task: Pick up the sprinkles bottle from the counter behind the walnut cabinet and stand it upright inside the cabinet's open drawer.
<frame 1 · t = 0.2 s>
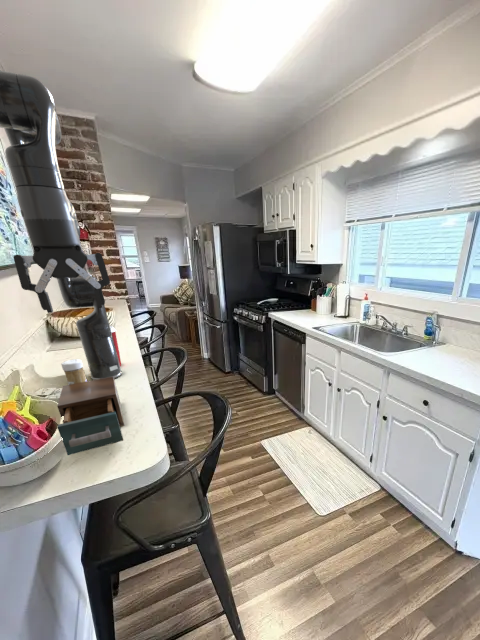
hand: (76, 309, 62), 29 cm above the countertop, tool pointing down, fingers open, 8 cm apart
drawer: (92, 425, 68), point 4 cm above the countertop, slide at 8.0 cm
sprinkles bottle: (85, 407, 87), on the countertop
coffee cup: (112, 367, 119), on the countertop
cabinet: (97, 420, 79), on the countertop
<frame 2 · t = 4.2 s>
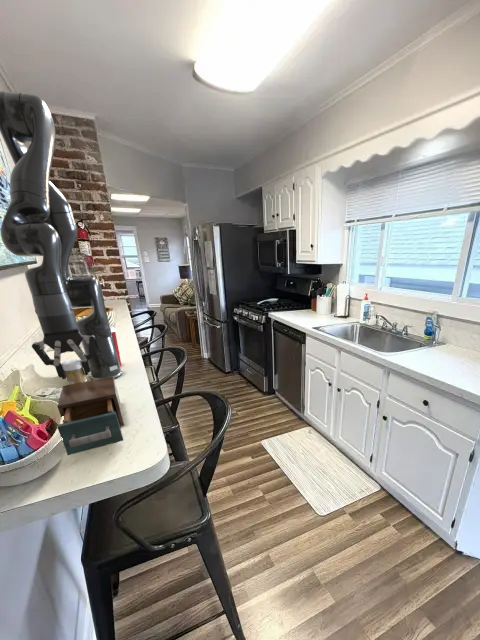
hand: (75, 375, 83), 9 cm above the countertop, tool pointing down, fingers closed on sprinkles bottle, 4 cm apart
sprinkles bottle: (85, 407, 87), on the countertop, touching gripper
everything else where it was.
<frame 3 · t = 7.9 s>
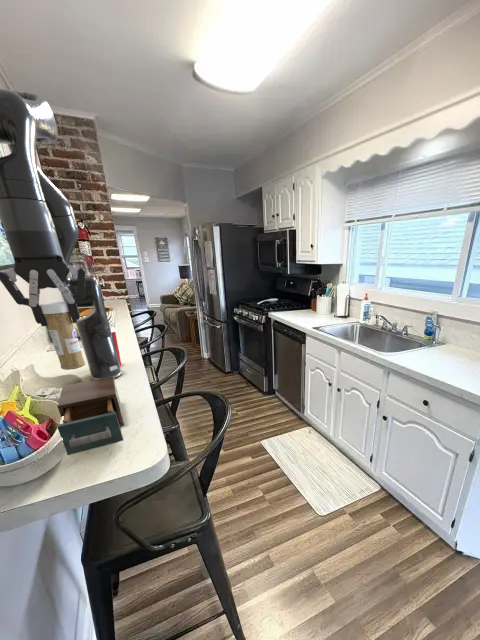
hand: (60, 323, 62), 26 cm above the countertop, tool pointing down, fingers closed on sprinkles bottle, 4 cm apart
sprinkles bottle: (74, 367, 66), point 17 cm above the countertop, touching gripper
everything else where it was.
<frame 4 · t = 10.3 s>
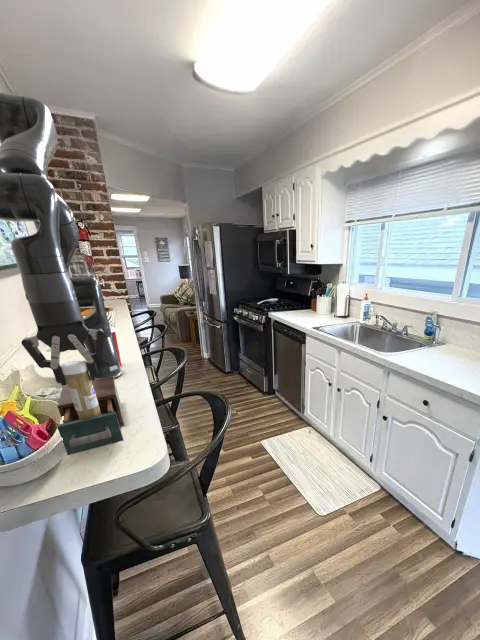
hand: (79, 381, 65), 15 cm above the countertop, tool pointing down, fingers closed on sprinkles bottle, 4 cm apart
sprinkles bottle: (91, 420, 69), point 5 cm above the countertop, touching gripper
everything else where it was.
when the fingers open (11 cm above the countertop, at t = 11.9 s): sprinkles bottle stays where it is, resting on drawer.
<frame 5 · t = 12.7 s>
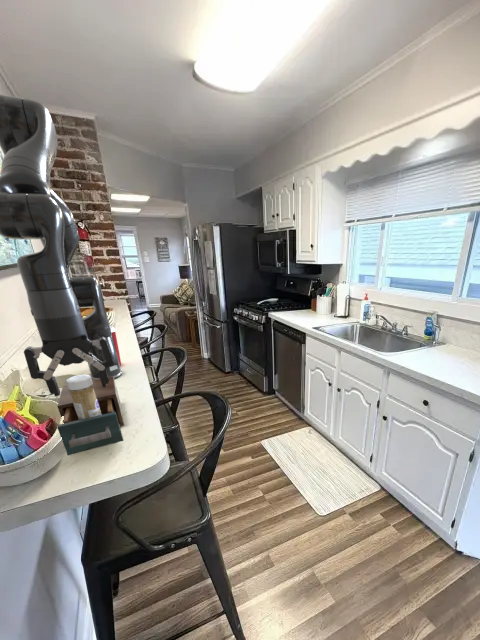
hand: (81, 390, 66), 13 cm above the countertop, tool pointing down, fingers open, 8 cm apart
drawer: (92, 425, 68), point 4 cm above the countertop, slide at 8.1 cm, touching sprinkles bottle
sprinkles bottle: (95, 433, 70), point 2 cm above the countertop, touching drawer
everything else where it was.
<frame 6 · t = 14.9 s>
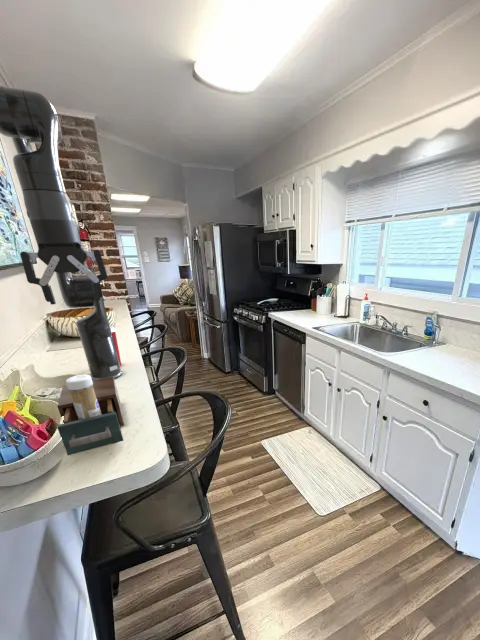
hand: (76, 302, 68), 30 cm above the countertop, tool pointing down, fingers open, 8 cm apart
nothing on the countertop moved.
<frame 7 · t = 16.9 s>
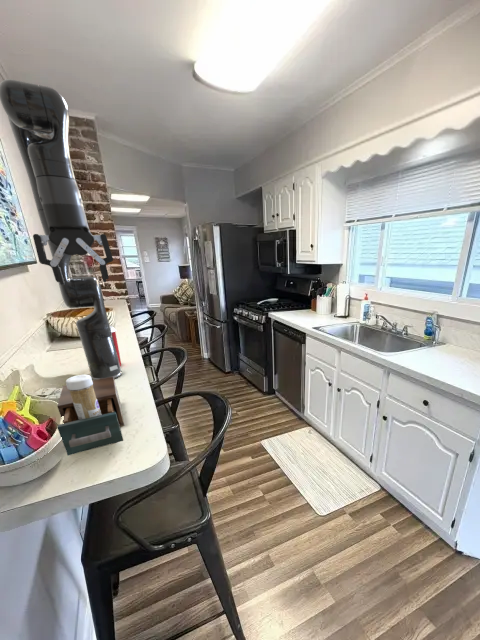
hand: (84, 283, 73), 33 cm above the countertop, tool pointing down, fingers open, 8 cm apart
nothing on the countertop moved.
at the end: sprinkles bottle inside the target area in the drawer (0.2 cm from its centre), point 1.8 cm above the cabinet's base; sprinkles bottle tilted 0°; drawer slide at 8.1 cm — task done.
